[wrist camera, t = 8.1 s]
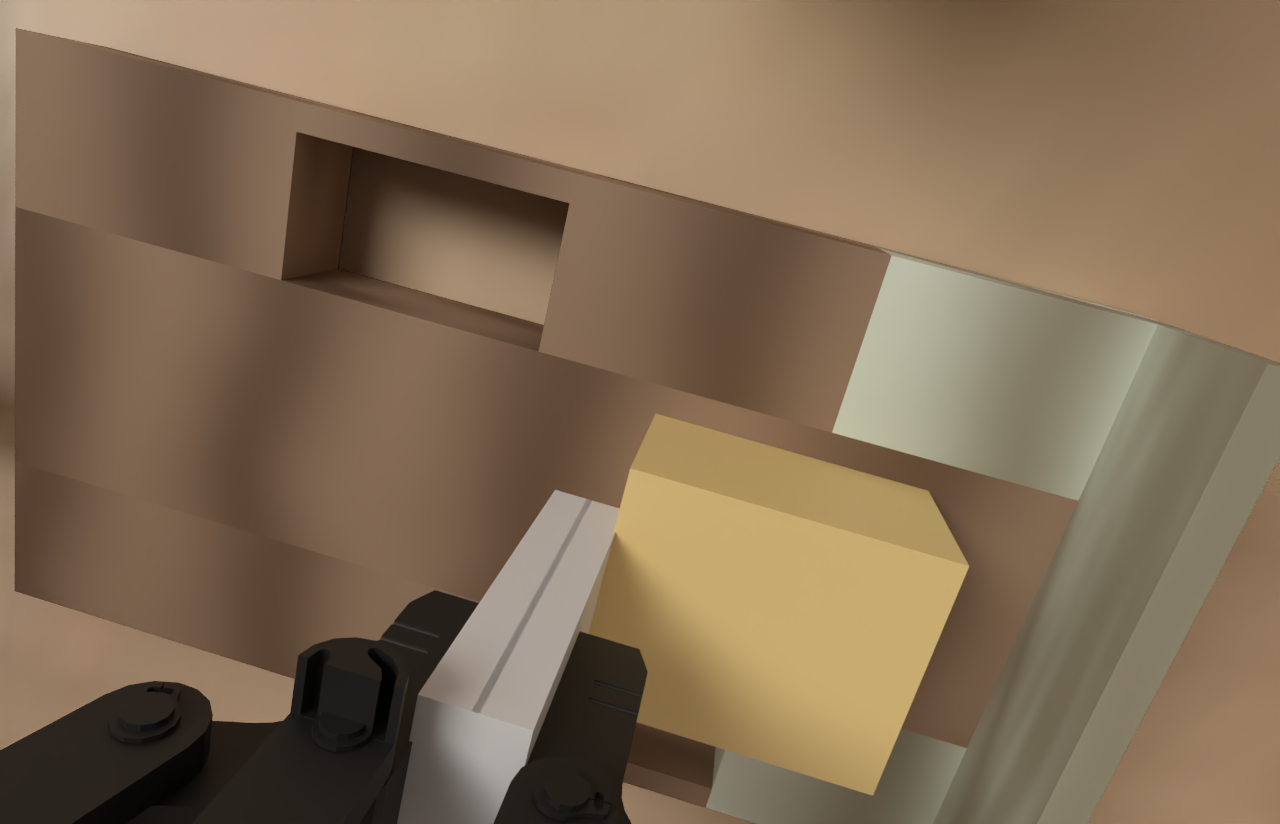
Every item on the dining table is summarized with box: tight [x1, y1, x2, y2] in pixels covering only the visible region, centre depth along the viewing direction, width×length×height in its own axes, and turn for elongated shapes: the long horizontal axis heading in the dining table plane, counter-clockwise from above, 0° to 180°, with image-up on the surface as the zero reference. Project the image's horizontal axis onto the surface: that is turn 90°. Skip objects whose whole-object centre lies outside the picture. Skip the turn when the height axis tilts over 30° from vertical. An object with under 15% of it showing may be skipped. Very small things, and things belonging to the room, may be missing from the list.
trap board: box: [15, 28, 1280, 824], centre depth 18 cm, size 25×14×6 cm, turn 76°
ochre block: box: [589, 414, 969, 796], centre depth 16 cm, size 6×5×4 cm
